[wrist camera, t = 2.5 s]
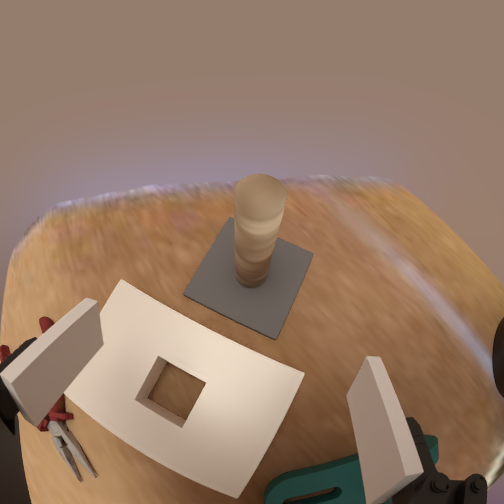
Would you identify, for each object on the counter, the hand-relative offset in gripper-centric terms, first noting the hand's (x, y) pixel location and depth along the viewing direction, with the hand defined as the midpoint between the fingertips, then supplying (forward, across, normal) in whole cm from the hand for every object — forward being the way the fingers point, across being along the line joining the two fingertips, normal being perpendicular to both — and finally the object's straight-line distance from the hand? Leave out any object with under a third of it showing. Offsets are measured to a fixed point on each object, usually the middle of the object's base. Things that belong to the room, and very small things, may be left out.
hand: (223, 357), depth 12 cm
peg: (+19, 0, -3) cm, 19 cm away
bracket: (+3, +15, -20) cm, 25 cm away
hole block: (+9, -5, -14) cm, 17 cm away
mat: (+19, 0, -4) cm, 19 cm away
